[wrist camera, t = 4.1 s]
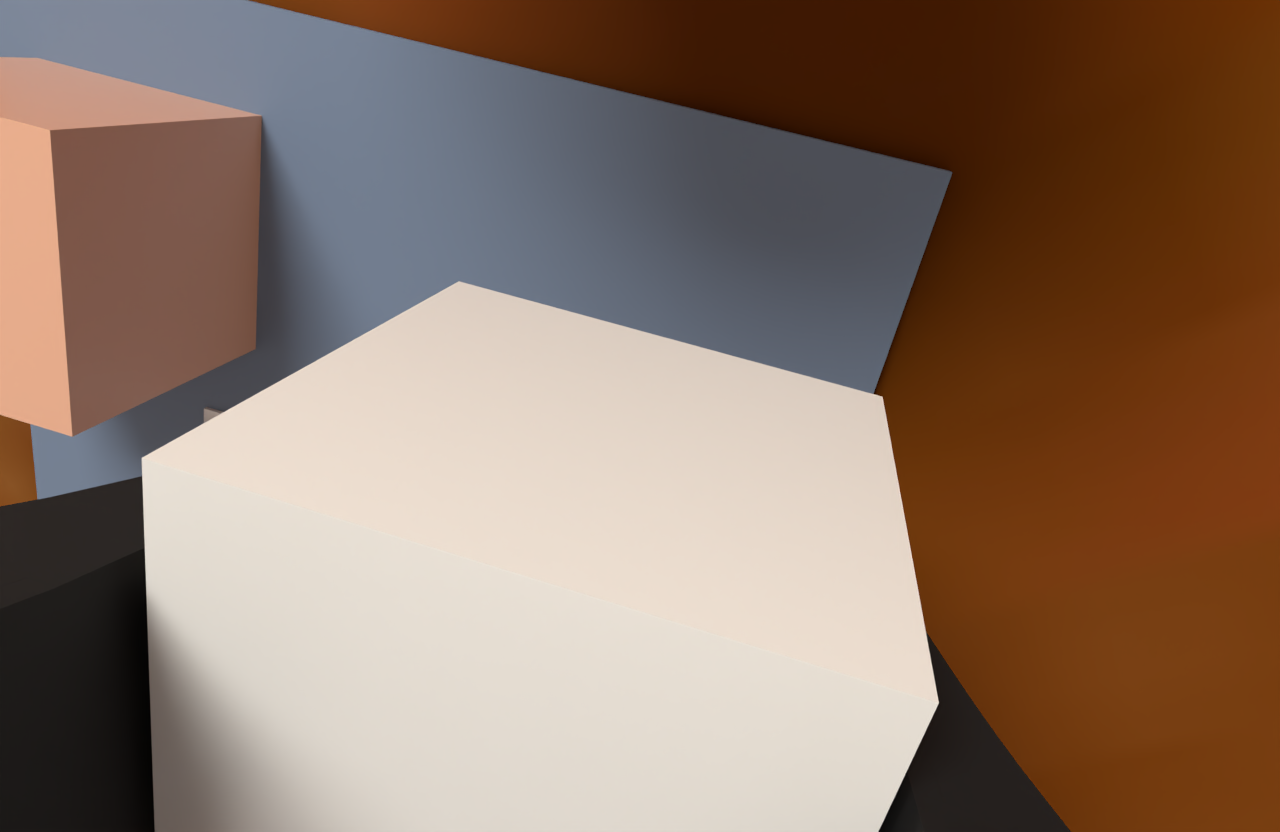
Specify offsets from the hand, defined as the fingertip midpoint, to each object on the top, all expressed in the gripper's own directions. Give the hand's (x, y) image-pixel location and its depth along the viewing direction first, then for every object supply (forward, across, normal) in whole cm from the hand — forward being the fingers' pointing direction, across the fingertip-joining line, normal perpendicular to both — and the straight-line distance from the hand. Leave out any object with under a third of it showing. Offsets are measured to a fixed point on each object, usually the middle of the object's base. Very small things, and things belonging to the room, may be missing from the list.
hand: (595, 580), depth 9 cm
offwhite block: (+1, 0, 0) cm, 1 cm away
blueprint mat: (+8, +6, +4) cm, 11 cm away
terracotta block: (+8, +12, 0) cm, 14 cm away
